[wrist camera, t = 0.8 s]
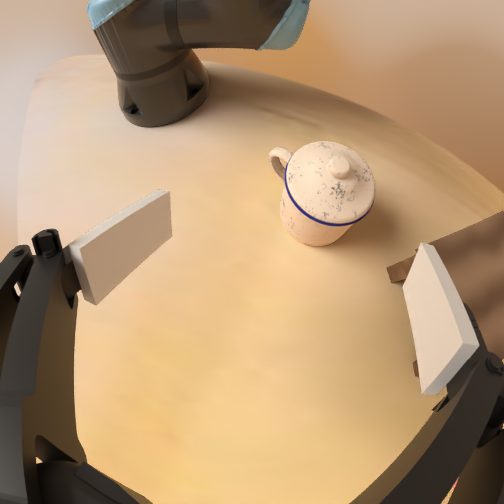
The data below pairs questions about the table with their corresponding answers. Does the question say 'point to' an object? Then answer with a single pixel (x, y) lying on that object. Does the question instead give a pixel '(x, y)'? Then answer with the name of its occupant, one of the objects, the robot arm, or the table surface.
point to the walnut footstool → (473, 275)
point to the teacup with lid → (322, 190)
